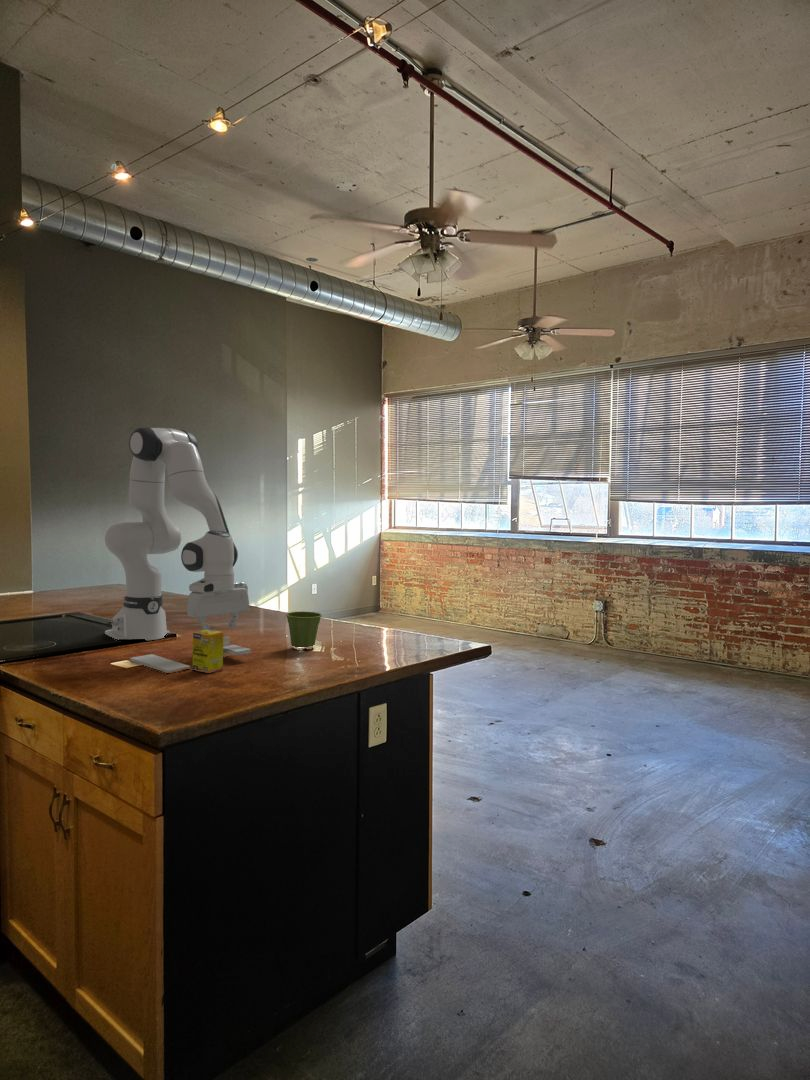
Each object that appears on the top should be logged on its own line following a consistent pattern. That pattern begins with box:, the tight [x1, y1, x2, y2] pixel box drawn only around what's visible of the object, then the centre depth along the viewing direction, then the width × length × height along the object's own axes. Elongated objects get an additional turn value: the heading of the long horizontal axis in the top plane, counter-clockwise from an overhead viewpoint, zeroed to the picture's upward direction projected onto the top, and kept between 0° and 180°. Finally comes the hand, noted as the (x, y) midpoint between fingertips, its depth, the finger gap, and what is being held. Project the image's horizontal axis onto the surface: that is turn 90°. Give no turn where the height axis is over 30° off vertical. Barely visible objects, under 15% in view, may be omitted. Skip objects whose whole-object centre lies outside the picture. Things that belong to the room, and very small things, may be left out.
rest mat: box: [129, 653, 191, 673], centre depth 196 cm, size 20×7×1 cm, turn 50°
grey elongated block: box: [223, 634, 252, 656], centre depth 208 cm, size 17×5×6 cm, turn 50°
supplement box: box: [192, 628, 225, 671], centre depth 192 cm, size 6×6×11 cm
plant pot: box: [284, 611, 323, 647], centre depth 223 cm, size 12×12×11 cm
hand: (219, 629), depth 210 cm, fingers open, 8 cm apart
